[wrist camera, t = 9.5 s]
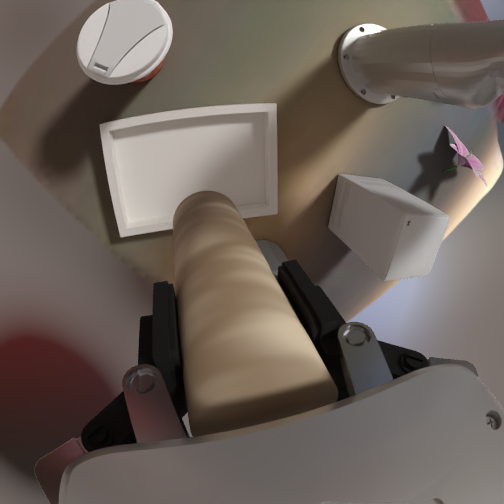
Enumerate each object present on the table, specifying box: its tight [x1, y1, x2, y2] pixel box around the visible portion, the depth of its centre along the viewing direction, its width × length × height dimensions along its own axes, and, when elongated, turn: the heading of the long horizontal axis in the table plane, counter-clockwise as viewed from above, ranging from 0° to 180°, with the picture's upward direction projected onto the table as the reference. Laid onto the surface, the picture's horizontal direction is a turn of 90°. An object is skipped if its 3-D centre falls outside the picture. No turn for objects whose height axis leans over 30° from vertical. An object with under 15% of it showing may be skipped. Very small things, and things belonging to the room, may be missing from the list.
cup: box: [256, 239, 289, 280], centre depth 41 cm, size 8×8×8 cm
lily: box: [443, 126, 487, 186], centre depth 40 cm, size 12×12×10 cm
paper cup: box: [77, 0, 173, 85], centre depth 21 cm, size 8×8×14 cm
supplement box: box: [328, 174, 449, 281], centre depth 37 cm, size 9×9×15 cm
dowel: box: [173, 191, 338, 437], centre depth 13 cm, size 4×4×14 cm
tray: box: [99, 103, 278, 237], centre depth 33 cm, size 20×14×3 cm
